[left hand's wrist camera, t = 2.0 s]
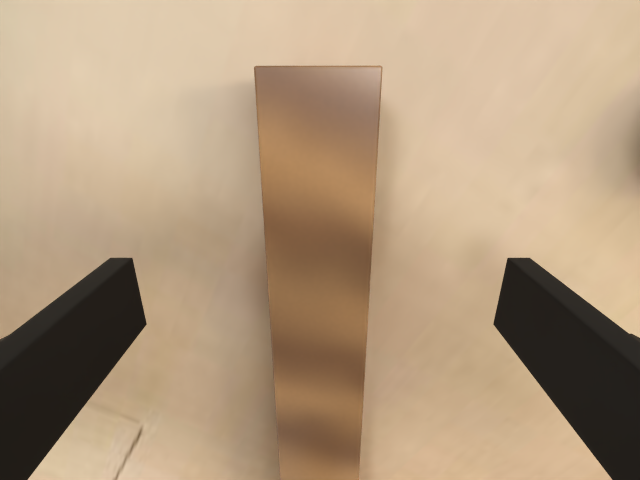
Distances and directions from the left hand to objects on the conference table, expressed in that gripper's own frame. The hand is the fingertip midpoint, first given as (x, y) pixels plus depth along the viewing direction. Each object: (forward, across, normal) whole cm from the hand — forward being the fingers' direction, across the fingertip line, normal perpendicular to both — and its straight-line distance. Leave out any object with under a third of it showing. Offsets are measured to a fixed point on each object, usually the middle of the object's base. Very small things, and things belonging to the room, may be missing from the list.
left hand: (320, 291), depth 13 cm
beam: (+12, 0, -34) cm, 36 cm away
